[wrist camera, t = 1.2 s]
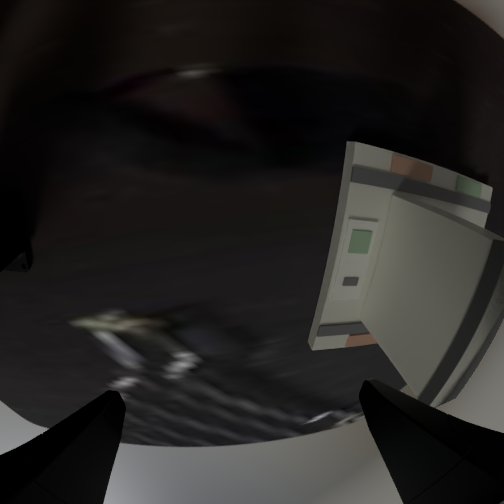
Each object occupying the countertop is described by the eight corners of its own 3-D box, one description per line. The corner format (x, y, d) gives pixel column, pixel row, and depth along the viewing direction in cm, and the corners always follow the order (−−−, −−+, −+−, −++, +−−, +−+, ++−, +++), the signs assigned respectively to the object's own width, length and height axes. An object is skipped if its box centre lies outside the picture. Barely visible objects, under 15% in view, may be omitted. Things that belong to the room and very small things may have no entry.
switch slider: (358, 320, 21) (423, 412, 11) (391, 193, 17) (508, 247, 8) (388, 317, 21) (455, 398, 12) (422, 200, 17) (529, 250, 8)
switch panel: (307, 341, 22) (313, 352, 21) (346, 141, 16) (357, 141, 15) (441, 324, 25) (448, 331, 24) (484, 184, 19) (494, 188, 18)
